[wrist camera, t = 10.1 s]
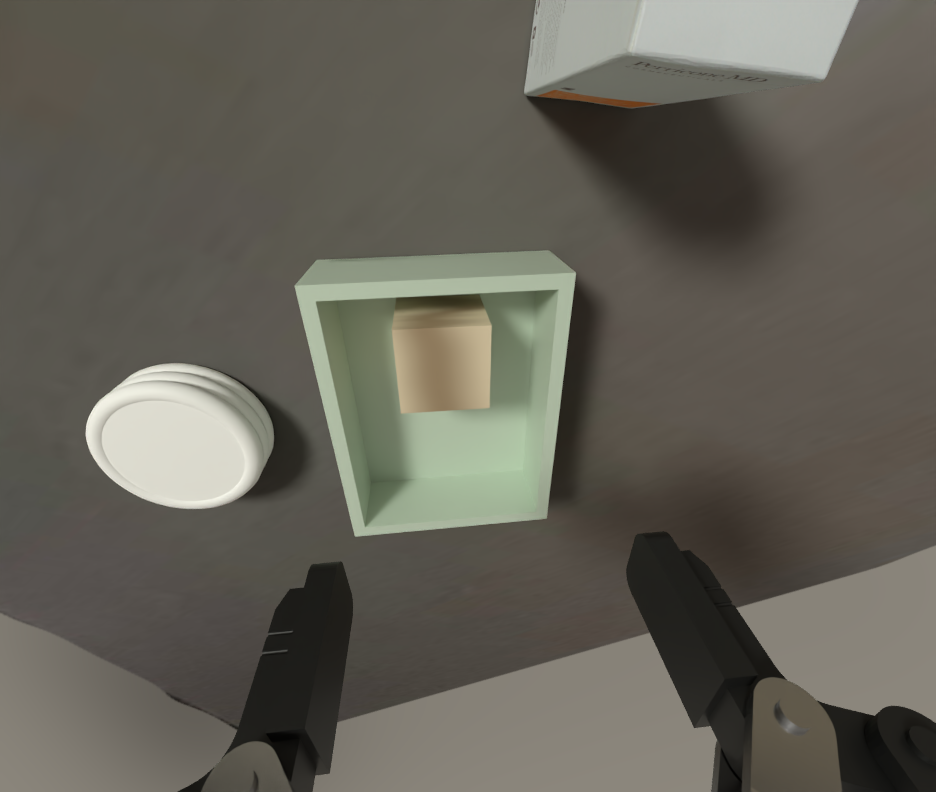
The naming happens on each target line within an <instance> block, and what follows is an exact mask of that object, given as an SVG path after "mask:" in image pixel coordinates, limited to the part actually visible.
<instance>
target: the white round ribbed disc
mask: <svg viewBox="0 0 936 792" xmlns="http://www.w3.org/2000/svg"><path fill="white" fill-rule="evenodd" d="M86 439H87V444H88V447H89V450H90V452H91V454H92V456H93V458H94V459H95V461H96V462H97V464H98V465H99V466H100V468H101V469H102V470H103V471H104V472H105V473H106V474H107V475H108V476H109V477H110V478H111V479H112V480H113V481H115V482H116V483H117V484H119V485H120V486H121V487H123V488H124V489H126V490H128V491H129V492H131V493H133V494H135V495H137V496H139V497H141V498H143V499H146V500H148V501H151V502H154V503H157V504H161V505H165V506H169V507H176V508H185V509H203V508H212V507H217V506H221V505H224V504H227V503H230V502H232V501H234V500H236V499H238V498H240V497H241V496H243V495H244V494H245V493H247V492H248V491H249V490H250V489H251V488H252V487H253V486H254V485H255V483H256V482H257V481H258V479H259V477H260V475H261V473H262V470H263V469H264V467H265V465H266V463H267V460H268V458H269V456H270V454H271V452H272V449H273V445H274V429H273V425H272V421H271V419H270V416H269V414H268V412H267V410H266V409H265V407H264V406H263V404H262V403H261V402H260V400H259V399H258V398H257V397H256V396H255V395H254V394H253V393H252V392H251V391H250V390H248V389H247V388H246V387H245V386H243V385H242V384H241V383H239V382H238V381H236V380H235V379H233V378H231V377H229V376H227V375H225V374H223V373H221V372H219V371H216V370H213V369H210V368H207V367H203V366H199V365H194V364H186V363H168V364H160V365H156V366H151V367H148V368H145V369H143V370H140V371H138V372H136V373H134V374H133V375H131V376H129V377H128V378H127V379H126V380H124V381H123V382H122V383H121V384H119V385H118V386H117V387H116V388H114V389H113V390H112V391H111V392H110V393H108V394H107V395H106V396H104V397H103V398H102V399H101V400H100V401H99V402H98V403H97V404H96V405H95V407H94V408H93V410H92V412H91V414H90V416H89V418H88V421H87V425H86Z"/></svg>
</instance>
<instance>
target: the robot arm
mask: <svg viewBox="0 0 936 792" xmlns="http://www.w3.org/2000/svg"><path fill="white" fill-rule="evenodd" d="M626 574H627V581H628V585H629V588H630V591H631V593H632V595H633V597H634V599H635V602H636V604H637V606H638V608H639V610H640V612H641V615H642V617H643V619H644V621H645V623H646V625H647V627H648V630H649V632H650V634H651V636H652V638H653V640H654V642H655V645H656V647H657V649H658V651H659V653H660V655H661V658H662V660H663V662H664V664H665V666H666V668H667V670H668V673H669V675H670V677H671V679H672V681H673V683H674V685H675V688H676V690H677V692H678V694H679V696H680V698H681V701H682V703H683V705H684V707H685V709H686V711H687V713H688V716H689V718H690V720H691V722H692V724H693V726H694V728H698V727H706V726H711V728H712V730H713V732H714V734H715V736H716V738H717V742H716V747H715V758H714V768H713V779H712V790H711V792H936V723H934V722H933V721H932V720H930V719H929V718H927V717H925V716H923V715H922V714H920V713H918V712H916V711H913V710H911V709H908V708H905V707H899V706H888V707H885V708H883V709H882V710H881V711H880V712H878V713H877V714H876V715H875V716H873V715H869V714H865V713H861V712H856V711H852V710H848V709H843V708H840V707H836V706H831V705H828V704H825V703H822V702H819V701H817V700H815V699H814V697H812V696H811V695H810V694H809V693H808V692H806V691H805V690H804V689H802V688H801V687H799V686H798V685H796V684H794V683H792V682H790V681H787V679H785V677H784V676H783V675H782V674H781V673H780V672H779V671H778V669H777V668H776V667H775V665H774V664H773V662H772V661H771V659H770V658H769V656H768V655H767V653H766V652H765V650H764V649H763V648H762V646H761V644H760V643H759V641H758V640H757V638H756V637H755V635H754V634H753V633H752V631H751V630H750V628H749V627H748V625H747V624H746V622H745V621H744V619H743V618H742V616H741V615H740V613H739V612H738V610H737V609H736V607H735V606H733V605H732V603H731V602H732V601H731V600H730V598H729V597H728V595H727V594H726V592H725V591H724V589H721V585H720V584H719V582H718V581H717V579H716V578H715V576H714V575H713V573H712V572H711V570H710V569H709V567H708V566H707V565H706V564H705V563H704V562H702V561H701V560H700V559H699V558H698V557H697V556H695V555H694V554H693V553H692V552H691V551H690V550H687V551H680V550H679V548H678V547H677V545H676V543H675V542H674V540H673V539H672V537H671V536H670V535H669V534H668V533H667V532H654V533H643V534H637V535H636V537H635V540H634V543H633V547H632V550H631V554H630V557H629V561H628V564H627V569H626ZM352 616H353V599H352V593H351V590H350V586H349V583H348V580H347V576H346V573H345V569H344V566H343V563H342V562H331V563H321V564H313V565H311V567H310V569H309V571H308V575H307V579H306V582H305V586H304V588H295V589H290V590H289V591H288V592H287V594H286V595H285V597H284V598H283V600H282V601H281V602H280V604H279V605H278V607H277V608H276V609H275V612H274V616H273V619H272V622H271V625H270V628H269V632H268V637H267V638H266V641H265V644H264V648H263V651H262V652H263V654H262V656H261V657H260V660H259V663H258V667H257V670H256V673H255V676H254V679H253V683H252V686H251V689H250V692H249V695H248V699H247V702H246V705H245V708H244V711H243V714H242V718H241V721H240V724H239V727H238V730H237V733H236V735H235V738H234V740H233V742H232V744H231V746H230V747H229V749H228V750H227V752H226V753H225V755H224V756H223V757H222V759H221V760H220V761H219V763H217V765H216V766H215V767H214V768H213V769H212V770H211V771H210V772H208V773H207V774H206V775H205V776H204V777H202V778H201V779H199V780H198V781H197V782H195V783H193V784H191V785H190V786H188V787H186V788H184V789H182V790H180V791H178V792H312V791H313V785H314V779H315V775H322V774H329V773H330V768H331V761H332V754H333V747H334V740H335V733H336V726H337V720H338V713H339V706H340V699H341V692H342V686H343V679H344V672H345V665H346V658H347V651H348V645H349V638H350V631H351V624H352Z"/></svg>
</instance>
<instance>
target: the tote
mask: <svg viewBox="0 0 936 792" xmlns="http://www.w3.org/2000/svg"><path fill="white" fill-rule="evenodd" d="M575 277H576V272H575V271H573V270H572V269H571V268H570V267H569V266H567V265H566V264H565V263H564V262H562V261H561V260H560V259H559V258H558V257H556V256H555V255H554V254H553V253H552V252H550V251H549V250H545V251H521V252H497V253H473V254H449V255H425V256H401V257H377V258H353V259H329V260H316V261H315V263H314V264H313V265H312V266H311V267H310V268H309V270H308V271H307V272H306V273H305V274H304V275H303V277H302V278H301V279H300V280H299V281H298V282H297V284H296V285H295V290H296V294H297V298H298V302H299V306H300V310H301V314H302V319H303V323H304V327H305V331H306V335H307V339H308V343H309V348H310V352H311V356H312V360H313V364H314V368H315V373H316V377H317V381H318V385H319V389H320V393H321V397H322V402H323V406H324V410H325V414H326V418H327V422H328V427H329V431H330V435H331V439H332V443H333V447H334V451H335V456H336V460H337V464H338V468H339V472H340V476H341V480H342V485H343V489H344V493H345V497H346V501H347V505H348V510H349V514H350V518H351V522H352V526H353V530H354V534H355V536H366V535H377V534H387V533H398V532H409V531H420V530H430V529H441V528H452V527H462V526H473V525H484V524H494V523H505V522H516V521H526V520H537V519H547V511H548V502H549V494H550V486H551V477H552V469H553V461H554V452H555V444H556V436H557V427H558V419H559V411H560V402H561V394H562V386H563V377H564V369H565V361H566V352H567V344H568V336H569V327H570V319H571V311H572V302H573V294H574V286H575ZM478 294H479V295H480V298H481V300H482V303H483V305H484V308H485V310H486V313H487V315H488V318H489V320H490V323H491V325H492V332H491V371H490V408H483V409H467V410H451V411H435V412H419V413H403V414H401V409H400V400H399V391H398V382H397V373H396V364H395V355H394V346H393V337H392V324H393V317H394V310H395V303H396V298H400V297H426V296H452V295H478Z"/></svg>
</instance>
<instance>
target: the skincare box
mask: <svg viewBox="0 0 936 792" xmlns="http://www.w3.org/2000/svg"><path fill="white" fill-rule="evenodd" d="M858 1H859V0H536V6H535V14H534V21H533V28H532V36H531V44H530V53H529V61H528V68H527V76H526V83H525V89H524V93H525V95H527V96H536V97H547V98H556V99H567V100H577V101H584V102H591V103H597V104H604V105H610V106H617V107H623V108H631V109H633V108H639V107H648V106H655V105H663V104H670V103H677V102H685V101H692V100H700V99H707V98H714V97H720V96H728V95H735V94H742V93H749V92H755V91H762V90H770V89H777V88H784V87H792V86H799V85H806V84H812V83H820V82H822V81H823V80H824V79H825V78H826V76H827V74H828V71H829V69H830V66H831V64H832V62H833V59H834V57H835V55H836V52H837V50H838V48H839V45H840V43H841V41H842V39H843V36H844V34H845V32H846V29H847V27H848V24H849V22H850V20H851V17H852V15H853V13H854V10H855V8H856V6H857V3H858Z"/></svg>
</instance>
